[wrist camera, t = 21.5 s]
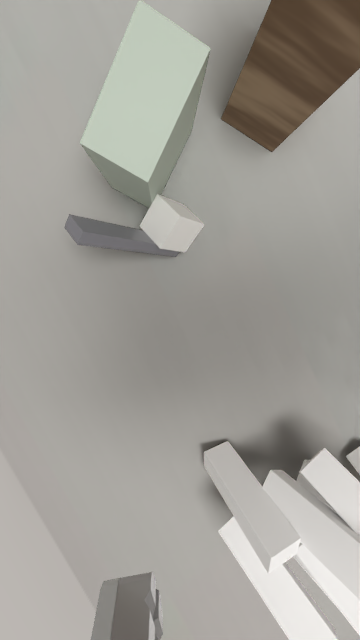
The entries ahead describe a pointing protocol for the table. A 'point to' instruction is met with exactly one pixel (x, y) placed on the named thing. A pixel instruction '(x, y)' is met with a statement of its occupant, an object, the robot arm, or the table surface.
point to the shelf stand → (294, 67)
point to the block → (146, 105)
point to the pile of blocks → (295, 536)
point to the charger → (156, 237)
